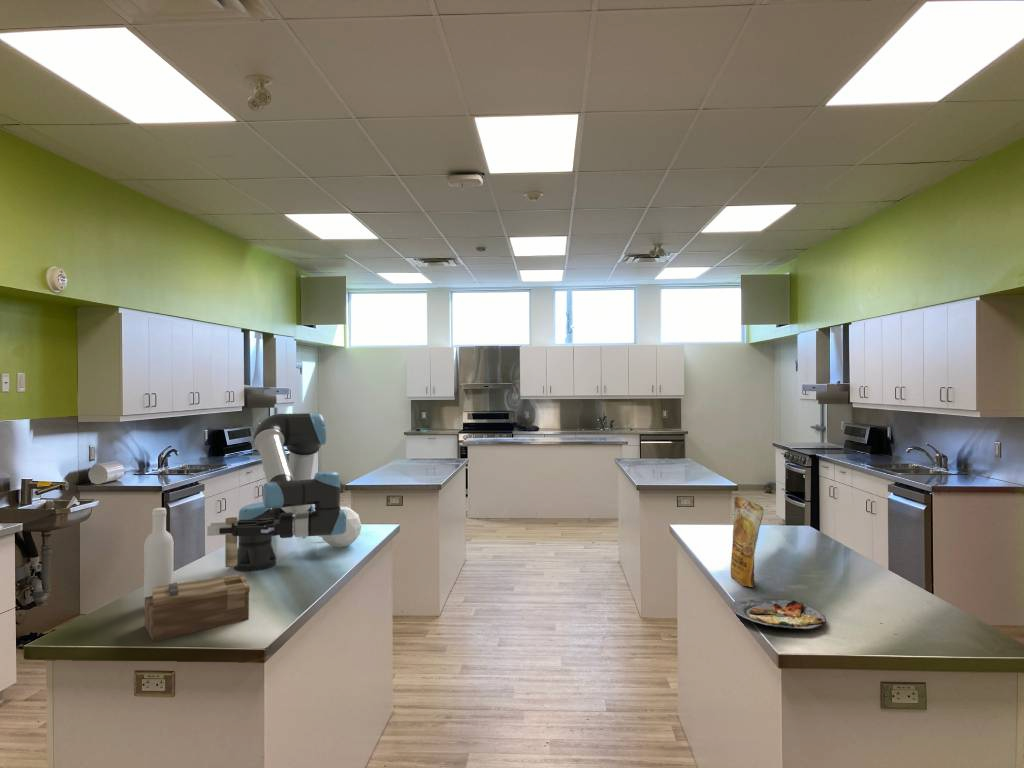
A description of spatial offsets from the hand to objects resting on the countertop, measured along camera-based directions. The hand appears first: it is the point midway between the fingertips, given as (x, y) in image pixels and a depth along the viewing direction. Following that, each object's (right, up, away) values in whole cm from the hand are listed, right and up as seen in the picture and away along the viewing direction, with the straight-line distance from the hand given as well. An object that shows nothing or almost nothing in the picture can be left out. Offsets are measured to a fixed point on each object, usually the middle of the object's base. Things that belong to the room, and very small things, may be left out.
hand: (209, 529), depth 174 cm
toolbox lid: (-1, -18, -2) cm, 18 cm away
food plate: (+166, -26, -1) cm, 168 cm away
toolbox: (-1, -26, -4) cm, 26 cm away
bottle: (-20, -26, +9) cm, 34 cm away
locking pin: (+6, -11, +2) cm, 13 cm away
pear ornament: (+11, -26, +78) cm, 83 cm away
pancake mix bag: (+170, -26, +32) cm, 175 cm away
